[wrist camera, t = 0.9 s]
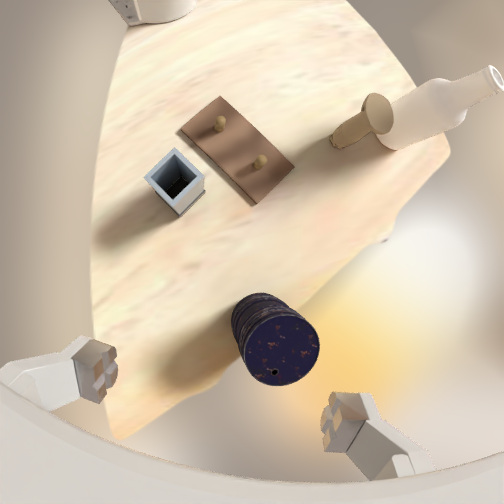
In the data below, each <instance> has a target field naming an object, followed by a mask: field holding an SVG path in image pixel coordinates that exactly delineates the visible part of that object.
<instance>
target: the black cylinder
mask: <svg viewBox="0 0 504 504" xmlns="http://www.w3.org/2000/svg"><path fill="white" fill-rule="evenodd" d="M231 325H232V330H233V334H234V337H235V339H236V341H237V343H238V347H239V351H240V353H241V356H242V359H243V361H244V363H245V365H246V367H247V369H248V371H249V372H250V374H251V375H252V376H253V377H254V378H255V379H256V380H258V381H259V382H261V383H263V384H267V385H270V386H284V385H289V384H292V383H294V382H296V381H298V380H300V379H301V378H303V377H304V376H305V375H307V374H308V373H309V371H310V370H311V369H312V367H313V366H314V364H315V362H316V361H317V358H318V355H319V349H320V344H319V338H318V335H317V333H316V331H315V329H314V327H313V326H312V325H311V324H310V323H309V322H307V321H306V320H305V318H303V317H302V316H301V315H300V314H299V313H297V312H296V311H295V310H293V309H291V308H289V306H288V305H287V304H286V303H284V302H283V301H281V300H280V299H278V298H276V297H274V296H273V295H270V294H267V293H254V294H251V295H248V296H246V297H245V298H243V299H242V300H241V301H240V302H239V303H238V304H237V305H236V307H235V308H234V311H233V313H232V318H231Z"/></svg>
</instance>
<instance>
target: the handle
mask: <svg viewBox="0 0 504 504" xmlns="http://www.w3.org/2000/svg"><path fill="white" fill-rule="evenodd" d="M393 123H394V116H393V110H392V107H391V105H390V103H389V101H388V100H387V99H386V98H385V97H384V96H382V95H380V94H377V93H371V94H369V95H368V96H367V97H366V99H365V101H364V102H363V105H362V108H361V112H360V113H359V114H357V115H355V116H354V117H352V118H350V119H349V120H347V121H345V122H344V123H343V124H341V125H340V126H339V127H338V128H337V129H336V130H335V132H334V133H333V135H332V136H331V137H330V141H331V142H332V144H333V147H338V148H339V149H342V148H344V147H346V146H349V145H352V144H354V143H356V142H357V141H359V140H360V139H362V138H363V137H364V136H366V135H367V134H368V133H370V132H371V131H372V132H373V133H375V134H379V135H384V134H387V133H389V132H390V130H391V128H392V126H393Z"/></svg>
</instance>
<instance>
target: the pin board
mask: <svg viewBox="0 0 504 504" xmlns="http://www.w3.org/2000/svg"><path fill="white" fill-rule="evenodd" d="M181 131H182V132H183V133H185V134H186V135H187V136H188V137H189V138H190V139H191V140H192V141H193V142H194V143H195V144H196V145H197V146H198V147H199V148H200V149H201V150H202V151H203V152H204V153H206V154H207V155H208V156H209V157H210V158H211V159H212V160H213V161H214V162H215V163H216V164H217V165H218V166H219V167H220V168H221V169H222V170H223V171H224V172H225V173H226V174H227V175H228V176H229V177H230V178H231V179H232V180H233V181H234V182H235V183H236V184H237V185H238V186H239V187H240V188H241V189H242V190H243V191H244V192H245V193H246V194H247V195H248V196H249V197H250V198H251V199H252V200H253V201H254V202H255V203H256V204H258V203H259V202H260V201H261V200H262V199H263V198H264V197H265V196H266V195H267V194H268V193H269V192H270V191H271V190H272V189H273V188H274V187H275V186H276V185H277V184H278V183H279V182H280V181H281V180H282V179H283V178H284V177H285V176H286V175H287V174H288V173H289V172H290V171H291V170H292V169H293V168H294V166H293V165H292V164H291V163H290V162H289V161H288V160H287V159H286V158H285V157H284V156H283V155H282V154H281V153H280V152H279V151H278V150H277V149H276V148H275V147H274V146H273V145H272V144H271V143H270V142H269V141H268V140H267V139H266V138H265V137H264V136H263V135H262V134H261V133H260V132H259V131H258V130H257V129H256V128H255V127H254V126H253V125H252V124H251V123H250V122H248V121H247V120H246V119H245V118H244V117H243V116H242V115H241V114H240V113H239V112H238V111H237V110H235V109H234V108H233V107H232V106H231V105H230V104H229V103H228V102H227V101H225V100H224V99H223V98H222V97H221V96H219V97H218V98H217V99H215V100H214V101H213V102H212V103H210V104H209V105H208V106H207V107H205V108H204V109H203V110H202V111H200V112H199V113H198V114H197V115H196V116H194V117H193V118H192V119H191V120H190V121H189V122H187V123H186V124H185V125H184V126H183V127H182V128H181Z"/></svg>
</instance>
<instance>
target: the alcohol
mask: <svg viewBox="0 0 504 504" xmlns="http://www.w3.org/2000/svg"><path fill="white" fill-rule="evenodd" d="M499 91H504V81H503V79H502V77H501V75H500V73H499V72H498V71H497V69H496V68H494V67H493V66H491V65H489V66H487V68H483V69H482V70H481V71H479V72H476V73H473V74H471V75H468V76H465V77H463V78H460V79H458V80H456V81H449V80H446V79H442V78H436V79H432V80H429V81H427V82H425V83H424V84H422V85H421V86H419V87H417V88H416V89H414V90H413V91H411V92H409V93H408V94H406V95H405V96H403V97H402V98H400V99H398V100H397V101H395V102H394V103H392V104H391V107H392V110H393V116H394V123H393V126H392V128H391V130H390V132H389V133H387V134H384V135H379V134H376V136H377V138H378V139H379V141H380V142H381V143H382V144H383V145H385V146H386V147H388V148H390V149H393V150H400V149H402V148H405V147H407V146H410V145H412V144H415V143H417V142H420V141H422V140H425V139H427V138H430V137H432V136H435V135H437V134H440V133H442V132H445V131H447V130H450V129H452V128H455V127H457V126H458V125H459V124H460V123H462V122H463V120H464V119H465V116H466V112H467V109H468V108H469V107H471V106H473V105H474V104H476V103H478V102H480V101H482V100H483V99H485V98H487V97H489V96H491V95H492V94H494V93H496V94H497V93H499Z"/></svg>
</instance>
